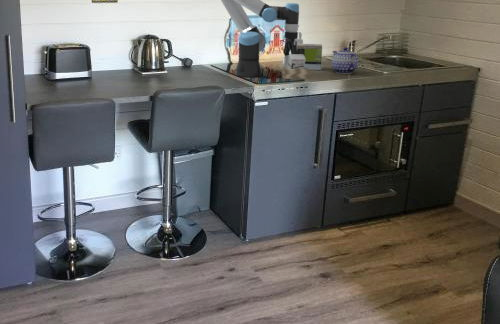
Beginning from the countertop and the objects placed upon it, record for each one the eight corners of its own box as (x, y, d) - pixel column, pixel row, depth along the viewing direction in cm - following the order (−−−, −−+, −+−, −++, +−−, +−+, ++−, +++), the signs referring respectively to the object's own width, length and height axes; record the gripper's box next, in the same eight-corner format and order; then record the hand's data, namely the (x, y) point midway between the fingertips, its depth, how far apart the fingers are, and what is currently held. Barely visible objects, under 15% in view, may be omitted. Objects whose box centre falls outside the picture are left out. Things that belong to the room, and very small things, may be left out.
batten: (283, 78, 318) (284, 69, 316) (282, 77, 321) (282, 68, 319) (309, 78, 321) (310, 69, 320) (307, 77, 324) (308, 68, 323)
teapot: (366, 75, 335) (369, 49, 330) (344, 77, 329) (346, 50, 324) (343, 68, 356) (345, 44, 352) (321, 69, 350) (323, 44, 346)
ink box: (288, 77, 324) (291, 58, 316) (285, 72, 327) (288, 54, 320) (302, 76, 325) (306, 58, 318) (300, 72, 329) (303, 54, 322)
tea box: (320, 67, 357) (322, 43, 352) (320, 70, 347) (322, 45, 342) (296, 66, 358) (297, 42, 353) (296, 69, 349) (297, 44, 344)
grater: (282, 62, 371) (284, 31, 364) (297, 62, 375) (298, 31, 368) (289, 65, 362) (291, 33, 355) (304, 64, 366) (306, 32, 359)
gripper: (304, 33, 316) (302, 72, 323) (291, 28, 339) (289, 64, 346) (291, 33, 315) (289, 72, 322) (278, 28, 337) (277, 65, 344)
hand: (289, 68), depth 334 cm, fingers open, 13 cm apart
